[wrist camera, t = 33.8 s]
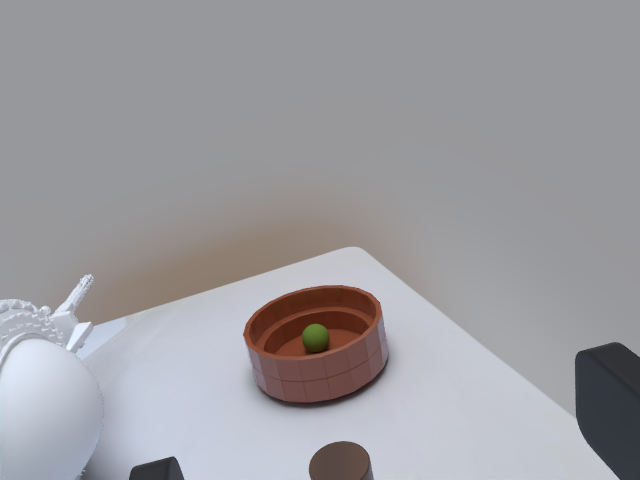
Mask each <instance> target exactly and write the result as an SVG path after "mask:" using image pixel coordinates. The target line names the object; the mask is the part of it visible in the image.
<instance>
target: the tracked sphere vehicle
mask: <svg viewBox="0 0 640 480" xmlns="http://www.w3.org/2000/svg"><path fill="white" fill-rule="evenodd" d="M93 279H94V278H93V277H92V275H91V274H90V275H85V276H84V277H83V279H81V281H80V283H79V284H78V285H77V288H75V289H74V290H73V291H72V293H71V294H70V296H69V297H68V299H67V300H66V301H65V303H64V304H61V305H60V307H59V308H58V309H57V310H56V311H55V313H54V314H53V315H50V314H49V313H50V312H51V309H50V308H49V307H48V306H43V307H42V308H41V309H40V310H39V309H38V308H36V307H35V306H34V305H31V304H32V303H31V302H28V303H27V302H25V301H22V300H17V299H6V300H2V301H0V480H80V479H81V475H84V474H82V472H85V469H84V470H83V468H84V467H85V466H86V464H87V462H88V461H89V459H90V457H91V455H92V454H93V452H94V450H95V448H96V446H97V444H98V441H99V437H100V434H101V430H102V427H103V416H104V412H103V400H102V395H101V391H100V388H99V385H98V382H97V380H96V378H95V376H94V375H93V373H92V372H91V370H90V369H89V368H88V366H87V365H86V364H85V363H84V362H83V361H82V360H81V359H80V358H79V357H78V356H77V355H76V354H75V353H76V352H77V350H78V349H79V348H82V347H83V345H84V341H85V340H86V338H87V337H88V336H89V334H90V333H91V331H92V330H93V326H92V324H91V322H88V323H80V324H79V322H78V320H77V317H76V316H74V312H75V309H76V307H77V306H78V304H79V303H80V301H81V300H82V298H83V297H84V295H85V292H86V291H87V289H88V288H89V286H90V284H91V283H92V282H93Z"/></svg>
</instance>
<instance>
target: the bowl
mask: <svg viewBox="0 0 640 480" xmlns="http://www.w3.org/2000/svg"><path fill="white" fill-rule="evenodd" d="M312 324H320V325H322V326H324V327H325V328H326V329H327V330H328V332H329V336H330V341H329V344H328V346H327V347H326V348H325V349H324V350H322V351H320V352H311V351H309V350H308V349H306V348H305V346H304V345H303V342H302V334H303V331H304V330H305V329H306V328H307V327H308V326H309V325H312ZM243 336H244V340H245V344H246V347H247V351H248V355H249V358H250V362H251V366H252V369H253V373H254V376H255V379H256V382H257V385H258V386H259V387H260V388H261V389H263V390H264V391H265V392H266V393H267V394H268V395H270V396H273V397H275V398H278V399H281V400H284V401H291V402H305V403H310V402H317V401H324V400H331V399H335V398H337V397H340V396H343V395H346V394H349V393H351V392H354V391H356V390H357V389H359V388H361V387H362V386H364V385H365V384H367V383H368V382H370V381H372V380H373V379H374V378H375V377H376V375H377V374H378V373H379V372H380V371H381V370H382V369H383V368H384V365H385V363H386V360H387V357H388V347H387V341H386V334H385V328H384V322H383V316H382V310H381V305H380V302H379V301H378V300H377V299H376V298H375V297H374V296H373V295H372V294H371V293H368V292H366V291H364V290H361V289H359V288H355V287H349V286H343V285H331V286H318V287H311V288H305V289H301V290H298V291H295V292H292V293H288V294H286V295H283V296H281V297H279V298H277V299H275V300H273V301H270V302H269V303H267V304H266V305H264V306H263V307H262V308H260V309H259V310H258V311H256V312H255V313H254V314H253V316H252V317H251V318H250V319H249V321H248V322H247V323H246V326H245V330H244V334H243Z"/></svg>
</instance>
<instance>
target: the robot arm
mask: <svg viewBox="0 0 640 480" xmlns="http://www.w3.org/2000/svg"><path fill="white" fill-rule="evenodd" d="M575 381H576V382H575V386H576V387H575V388H576V417H577V422H578V425H579V428H580V430H581V433H582V435H583V436H584V438H585V440H586V441H587V443H588V444H589V445H590V447H591V448H592V449H593V450H594V451H595V452H596V453H597V455H598V456H599V457H600V458H601V459H602V460H603V461H604V462H605V463H606V465H607V466H608V467H609V468H610V469H611V470H612V471H613V472H614V473H615V475H616V476H617V477H618V478H619V479H620V480H640V357H638V356H637V355H636V354H635V353H633V352H632V351H631V350H629V349H628V348H627V347H625V346H624V345H622V344H620V343H617V342H613V343H609V344H606V345H602V346H598V347H595V348H590V349H587V350H583V351H580V352H578V354H577V355H576V359H575ZM129 480H184V477H183V474H182V472H181V469H180V466H179V463H178V461H177V459H176V458H175V457H169V458H165V459H161V460H157V461H154V462H150V463H146V464H142V465H138V466H135V467H133V468H132V470H131V473H130V477H129Z"/></svg>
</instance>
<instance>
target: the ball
mask: <svg viewBox="0 0 640 480" xmlns="http://www.w3.org/2000/svg"><path fill="white" fill-rule="evenodd" d="M329 341H330V336H329V332H328V330H327V329H326V328H325V327H324V326H322V325H320V324H312V325H309V326H308V327H307V328H306V329H305V330H304V331H303V334H302V342H303V345H304V346H305V348H306V349H308V350H309V351H311V352H320V351H322V350H324V349H325V348H326V347H327V346H328V344H329Z"/></svg>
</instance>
